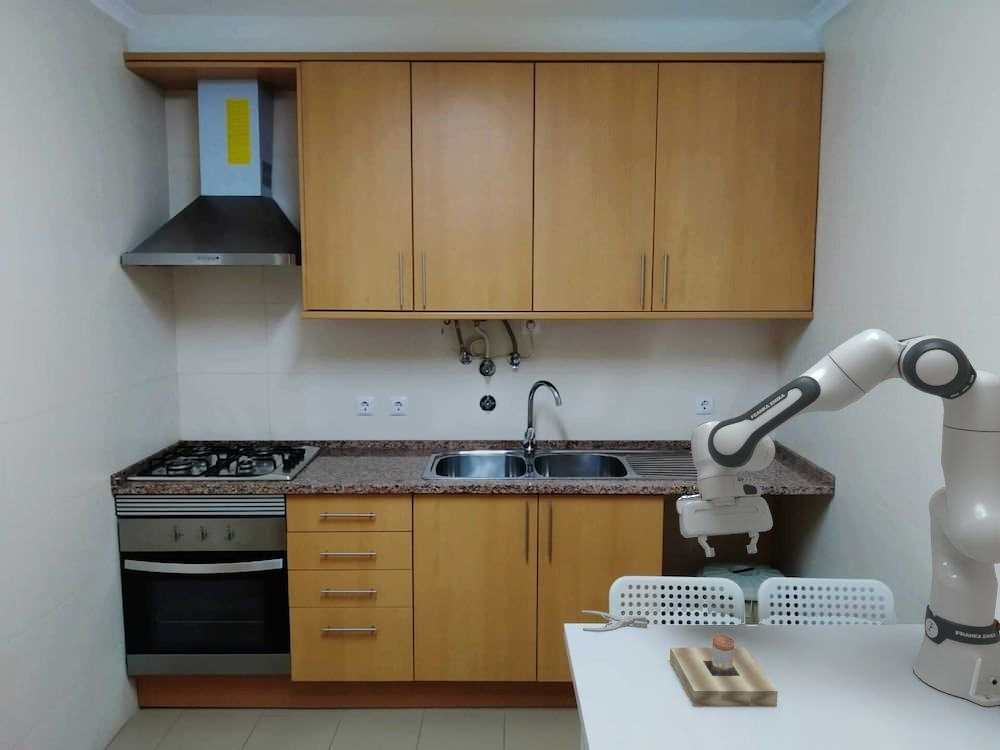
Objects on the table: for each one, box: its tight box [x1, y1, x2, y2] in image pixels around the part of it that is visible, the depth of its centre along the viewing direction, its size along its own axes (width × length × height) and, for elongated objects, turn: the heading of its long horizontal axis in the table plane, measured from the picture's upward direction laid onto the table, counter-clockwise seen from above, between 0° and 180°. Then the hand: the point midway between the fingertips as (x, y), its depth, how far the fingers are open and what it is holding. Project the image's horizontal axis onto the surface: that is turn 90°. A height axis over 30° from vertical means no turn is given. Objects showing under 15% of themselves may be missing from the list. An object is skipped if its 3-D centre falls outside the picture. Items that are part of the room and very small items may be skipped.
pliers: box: [581, 609, 648, 633], centre depth 163 cm, size 10×2×15 cm
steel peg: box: [711, 634, 735, 676], centre depth 139 cm, size 4×4×9 cm
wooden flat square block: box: [669, 647, 779, 707], centre depth 139 cm, size 16×16×3 cm
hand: (731, 554), depth 152 cm, fingers open, 8 cm apart
